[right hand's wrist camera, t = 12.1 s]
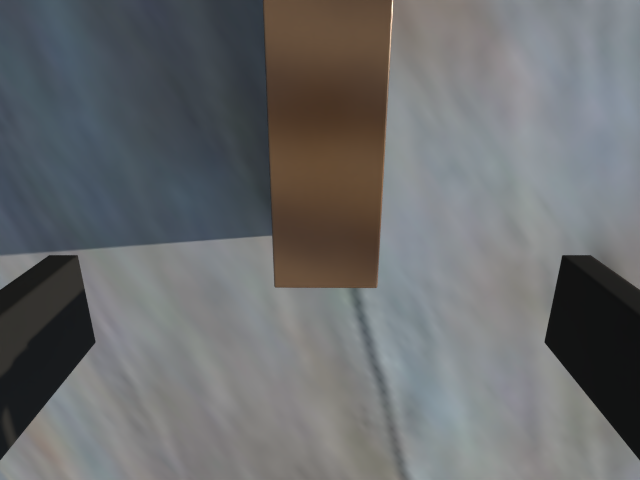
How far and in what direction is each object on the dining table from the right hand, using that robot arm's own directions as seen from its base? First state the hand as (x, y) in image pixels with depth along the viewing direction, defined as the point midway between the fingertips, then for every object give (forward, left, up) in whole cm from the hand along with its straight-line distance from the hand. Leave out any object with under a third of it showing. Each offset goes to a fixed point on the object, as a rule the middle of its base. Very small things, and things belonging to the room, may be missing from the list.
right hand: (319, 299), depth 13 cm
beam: (+20, +21, -17) cm, 33 cm away
